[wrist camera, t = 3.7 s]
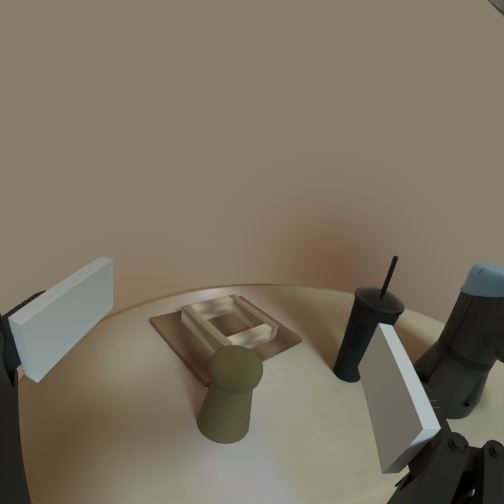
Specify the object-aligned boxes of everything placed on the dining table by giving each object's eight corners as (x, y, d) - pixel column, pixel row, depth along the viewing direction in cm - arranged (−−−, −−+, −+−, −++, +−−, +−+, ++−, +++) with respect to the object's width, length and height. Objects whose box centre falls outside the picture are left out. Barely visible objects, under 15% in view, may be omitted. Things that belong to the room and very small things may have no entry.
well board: (240, 299, 59) (243, 284, 58) (301, 341, 49) (307, 325, 48) (149, 322, 46) (150, 304, 44) (206, 386, 35) (208, 367, 34)
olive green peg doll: (190, 408, 31) (198, 338, 28) (237, 401, 34) (254, 333, 30) (206, 448, 26) (219, 382, 23) (257, 437, 29) (282, 371, 25)
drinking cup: (374, 390, 39) (430, 272, 33) (329, 386, 39) (381, 261, 32) (362, 360, 46) (407, 252, 40) (322, 355, 46) (362, 241, 40)
